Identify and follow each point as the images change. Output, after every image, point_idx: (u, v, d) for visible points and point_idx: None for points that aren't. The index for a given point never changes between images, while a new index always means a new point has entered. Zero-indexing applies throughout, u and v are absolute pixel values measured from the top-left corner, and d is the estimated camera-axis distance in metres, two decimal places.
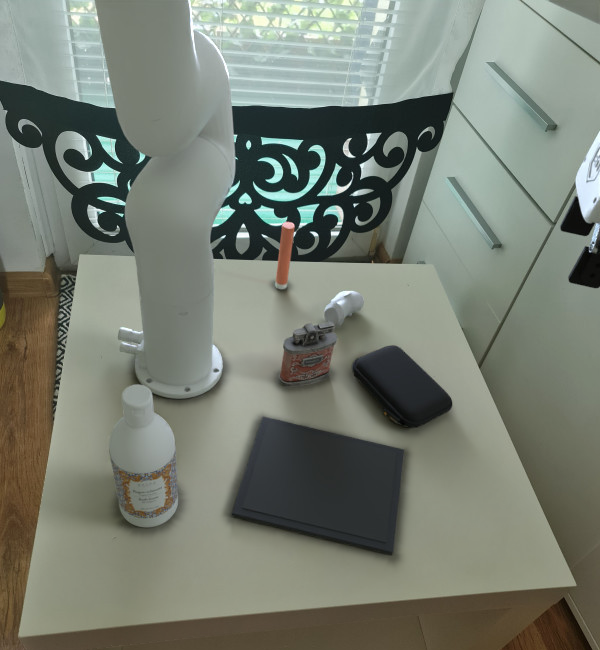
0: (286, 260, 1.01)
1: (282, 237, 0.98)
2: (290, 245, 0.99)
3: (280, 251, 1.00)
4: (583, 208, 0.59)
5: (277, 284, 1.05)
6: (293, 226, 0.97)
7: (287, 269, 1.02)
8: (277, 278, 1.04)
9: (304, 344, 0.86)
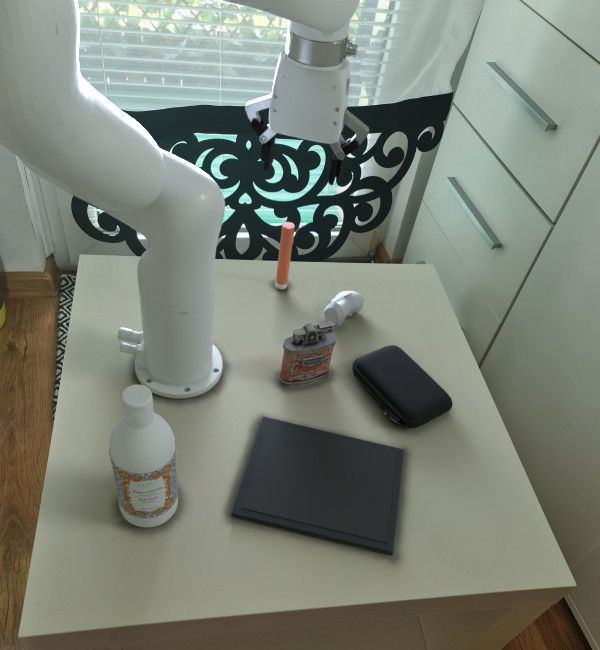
0: (286, 260, 1.01)
1: (282, 237, 0.98)
2: (290, 245, 0.99)
3: (280, 251, 1.00)
4: None
5: (277, 284, 1.05)
6: (293, 226, 0.97)
7: (287, 269, 1.02)
8: (277, 278, 1.04)
9: (304, 344, 0.86)
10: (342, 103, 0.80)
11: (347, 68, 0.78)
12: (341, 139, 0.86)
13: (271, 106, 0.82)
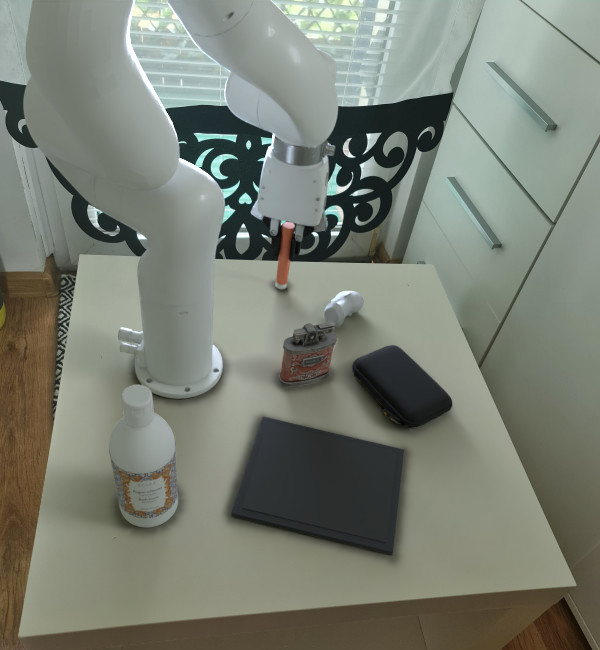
0: (286, 260, 1.01)
1: (282, 237, 0.98)
2: (290, 245, 0.99)
3: (280, 251, 1.00)
4: None
5: (277, 284, 1.05)
6: (293, 226, 0.97)
7: (287, 269, 1.02)
8: (277, 278, 1.04)
9: (304, 344, 0.86)
10: (322, 194, 0.90)
11: (326, 164, 0.88)
12: None
13: (259, 195, 0.92)
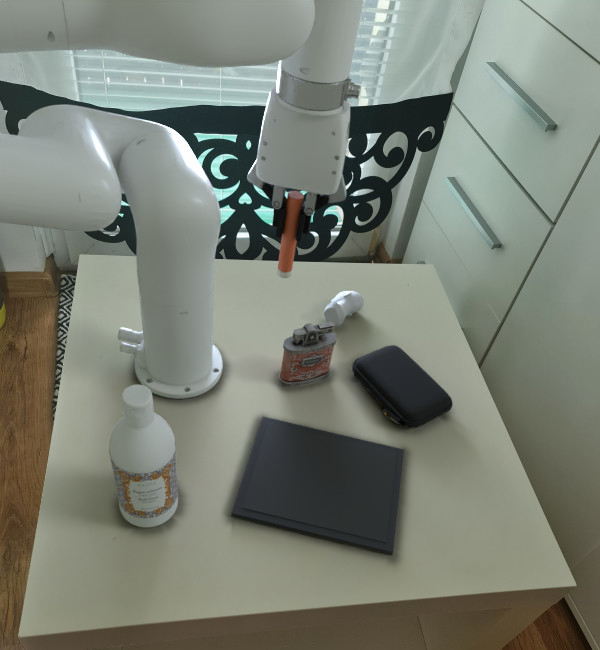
0: (292, 240, 0.80)
1: (287, 210, 0.77)
2: (297, 221, 0.78)
3: (285, 229, 0.79)
4: None
5: (280, 272, 0.83)
6: (302, 196, 0.76)
7: (293, 252, 0.81)
8: (280, 264, 0.83)
9: (304, 344, 0.86)
10: (342, 151, 0.69)
11: (348, 111, 0.67)
12: None
13: (259, 153, 0.71)
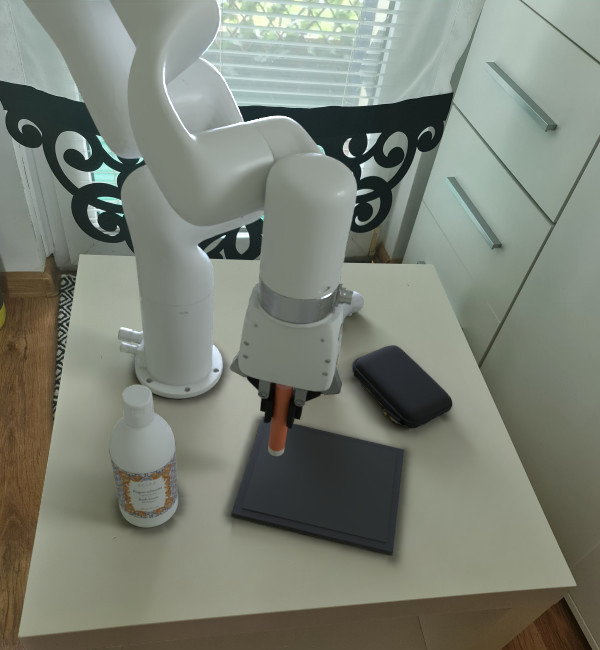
0: (283, 424, 0.71)
1: (276, 399, 0.68)
2: (288, 408, 0.69)
3: (274, 414, 0.70)
4: None
5: (270, 450, 0.75)
6: None
7: (284, 434, 0.73)
8: (270, 443, 0.74)
9: None
10: (334, 354, 0.61)
11: (340, 315, 0.59)
12: None
13: (241, 351, 0.63)
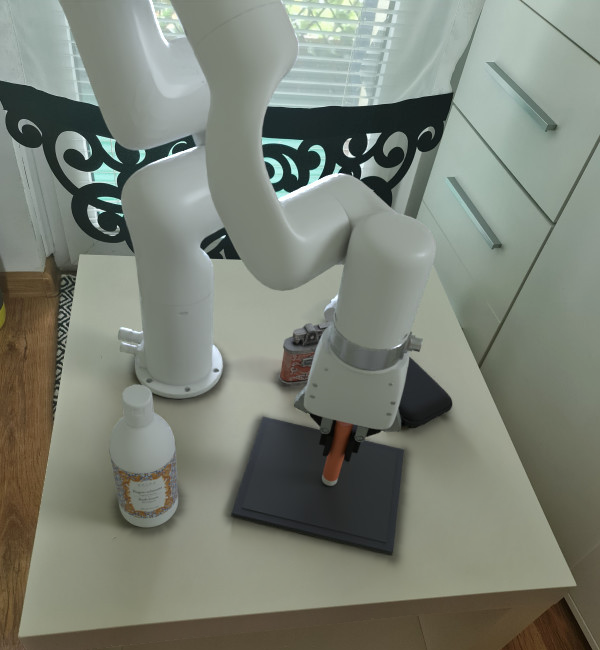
0: (340, 457, 0.74)
1: (336, 434, 0.71)
2: (346, 442, 0.72)
3: (333, 447, 0.73)
4: None
5: (325, 480, 0.78)
6: None
7: (340, 465, 0.76)
8: (325, 474, 0.77)
9: (304, 344, 0.86)
10: (399, 397, 0.63)
11: (407, 360, 0.61)
12: None
13: (308, 392, 0.65)
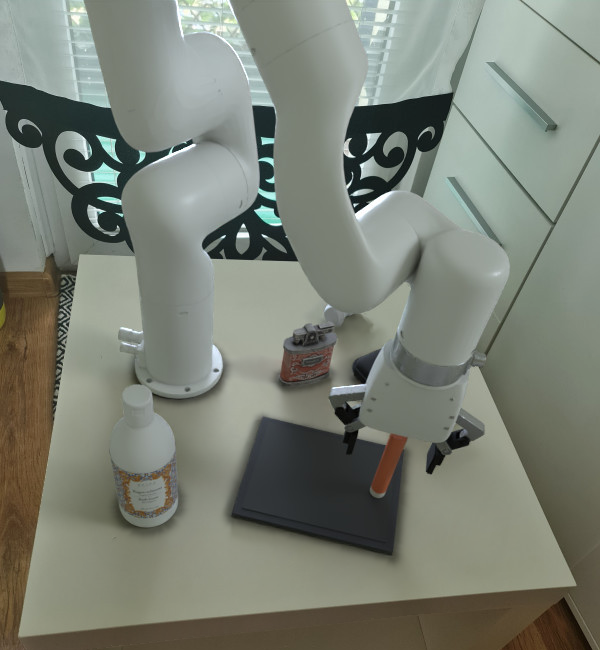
0: (391, 470, 0.74)
1: (390, 447, 0.71)
2: (399, 456, 0.72)
3: (385, 461, 0.73)
4: None
5: (373, 492, 0.78)
6: None
7: (390, 478, 0.75)
8: (374, 486, 0.77)
9: (304, 344, 0.86)
10: (458, 411, 0.63)
11: (468, 375, 0.61)
12: None
13: (365, 405, 0.65)
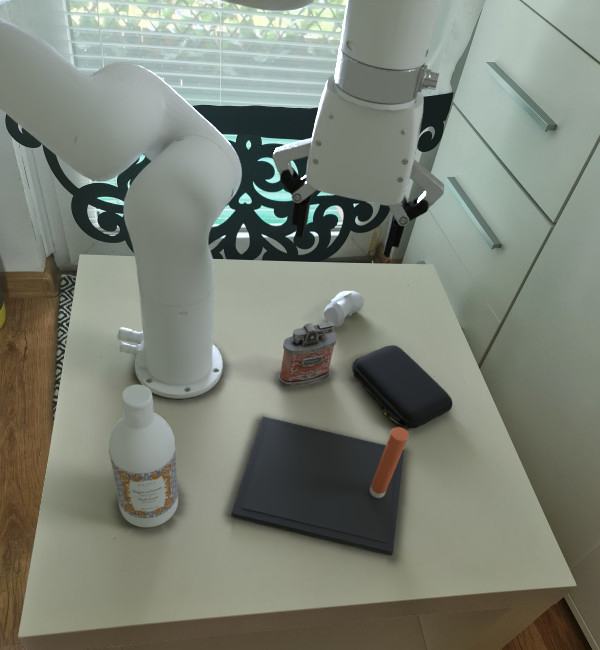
0: (391, 470, 0.74)
1: (390, 447, 0.71)
2: (399, 456, 0.72)
3: (385, 461, 0.73)
4: None
5: (373, 492, 0.78)
6: (406, 435, 0.70)
7: (390, 478, 0.75)
8: (374, 486, 0.77)
9: (304, 344, 0.86)
10: (412, 153, 0.57)
11: (421, 105, 0.55)
12: (403, 198, 0.63)
13: (311, 156, 0.59)
